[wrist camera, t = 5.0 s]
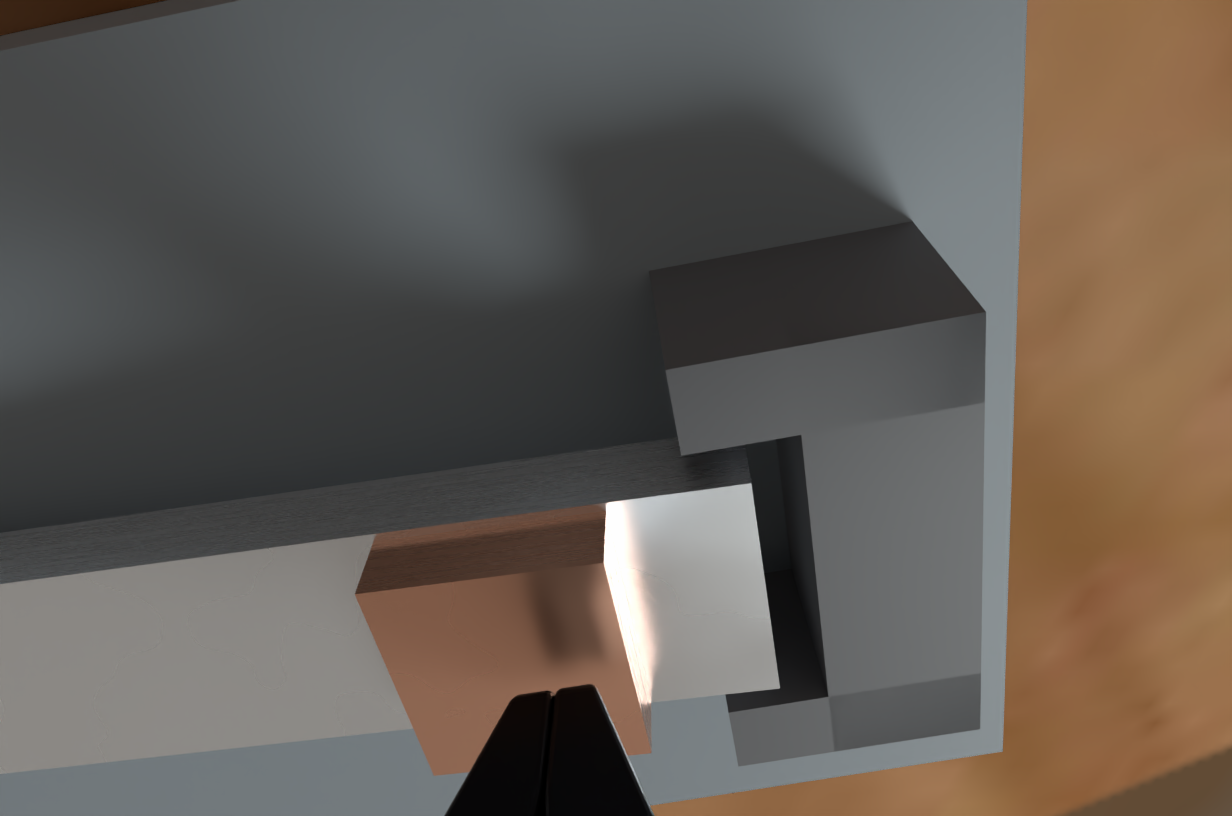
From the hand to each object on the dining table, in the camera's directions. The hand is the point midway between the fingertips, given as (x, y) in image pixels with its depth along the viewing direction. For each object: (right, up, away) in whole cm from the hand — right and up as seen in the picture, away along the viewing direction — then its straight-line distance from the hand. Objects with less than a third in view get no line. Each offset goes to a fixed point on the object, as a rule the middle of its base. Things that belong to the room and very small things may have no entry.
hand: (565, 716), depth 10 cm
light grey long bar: (-5, +1, +3) cm, 6 cm away
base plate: (-4, +2, +5) cm, 7 cm away
